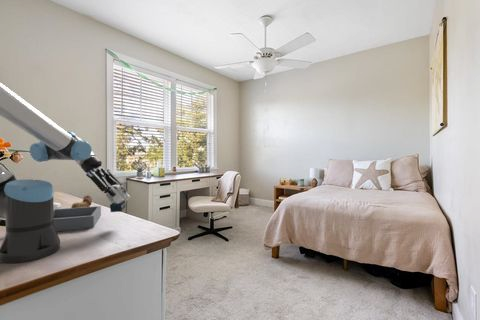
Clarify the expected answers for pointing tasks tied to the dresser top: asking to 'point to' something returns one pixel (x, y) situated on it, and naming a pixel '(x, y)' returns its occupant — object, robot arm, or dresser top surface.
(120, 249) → the dresser top surface
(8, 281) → the dresser top surface
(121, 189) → the watch
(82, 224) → the tray
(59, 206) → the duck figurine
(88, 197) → the lion figurine
